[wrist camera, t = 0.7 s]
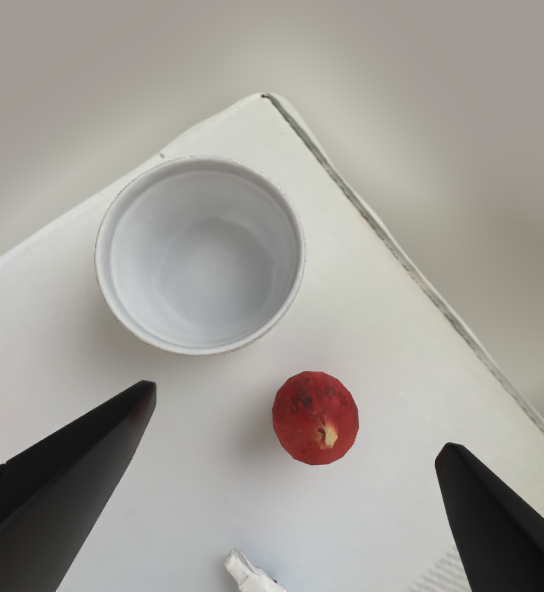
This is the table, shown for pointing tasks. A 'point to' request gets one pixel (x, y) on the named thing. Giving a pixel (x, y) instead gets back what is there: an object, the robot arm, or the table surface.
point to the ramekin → (200, 255)
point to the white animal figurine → (250, 575)
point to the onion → (315, 418)
